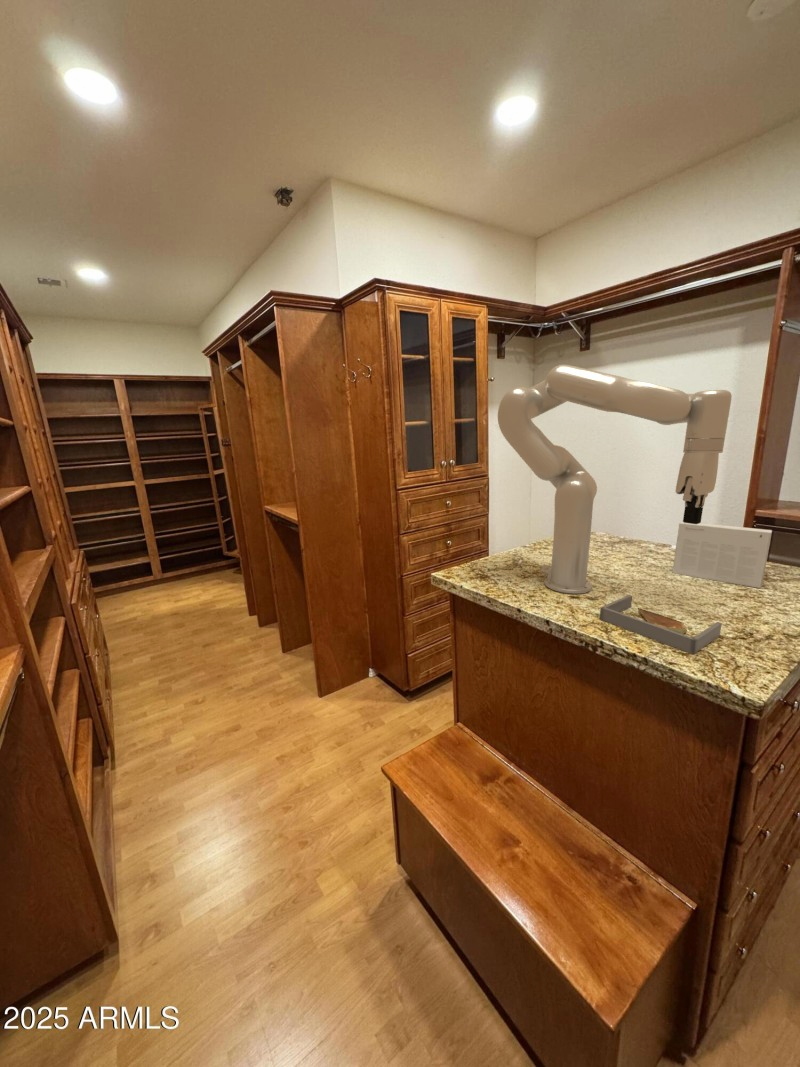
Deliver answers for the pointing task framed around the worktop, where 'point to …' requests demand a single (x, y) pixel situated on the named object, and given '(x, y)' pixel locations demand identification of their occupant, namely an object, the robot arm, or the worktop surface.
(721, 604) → the worktop surface
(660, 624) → the shard
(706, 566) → the skincare box
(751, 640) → the worktop surface
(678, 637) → the grey u-shaped bracket
